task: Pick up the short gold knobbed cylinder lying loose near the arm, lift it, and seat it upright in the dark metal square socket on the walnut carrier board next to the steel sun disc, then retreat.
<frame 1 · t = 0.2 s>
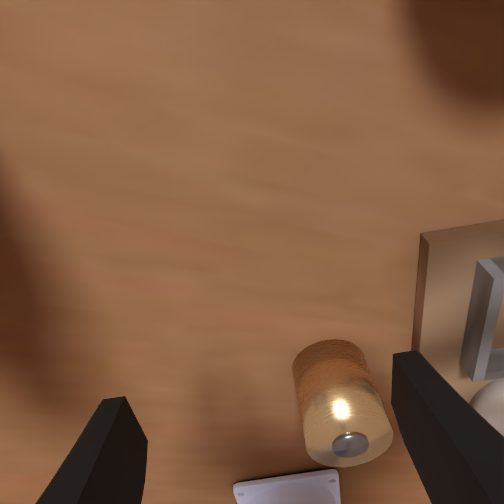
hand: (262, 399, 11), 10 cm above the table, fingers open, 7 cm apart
gold knobbed cylinder: (328, 365, 25), on the table
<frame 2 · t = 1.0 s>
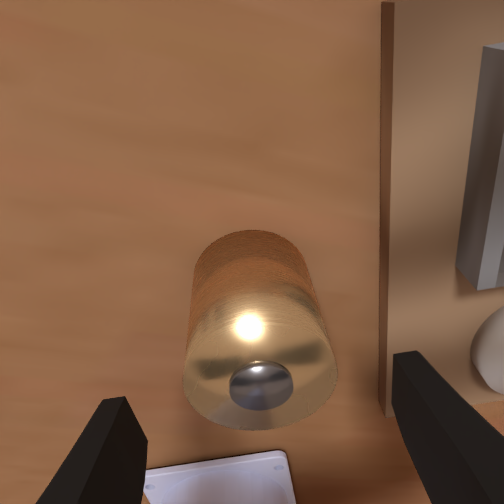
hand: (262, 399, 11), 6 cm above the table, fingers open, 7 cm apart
gold knobbed cylinder: (250, 279, 16), on the table
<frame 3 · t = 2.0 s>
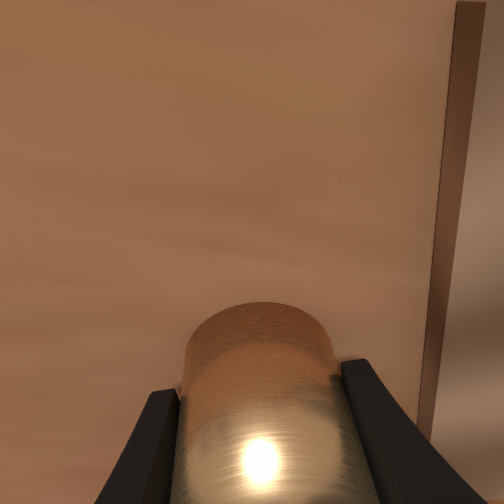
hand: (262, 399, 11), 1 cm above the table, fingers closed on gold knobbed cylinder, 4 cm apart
gold knobbed cylinder: (258, 359, 12), on the table, touching gripper
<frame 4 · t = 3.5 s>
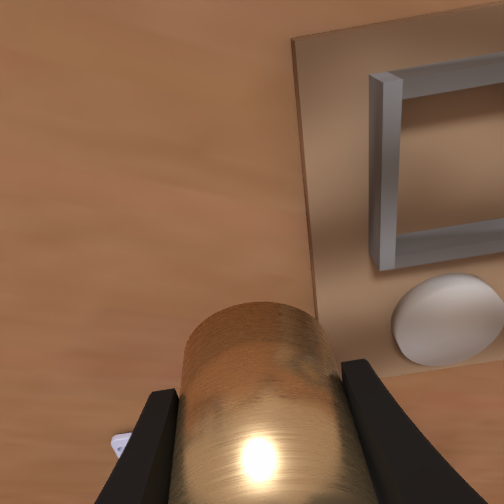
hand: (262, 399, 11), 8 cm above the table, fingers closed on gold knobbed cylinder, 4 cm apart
gold knobbed cylinder: (257, 358, 12), point 7 cm above the table, touching gripper
carrier board: (441, 224, 18), on the table
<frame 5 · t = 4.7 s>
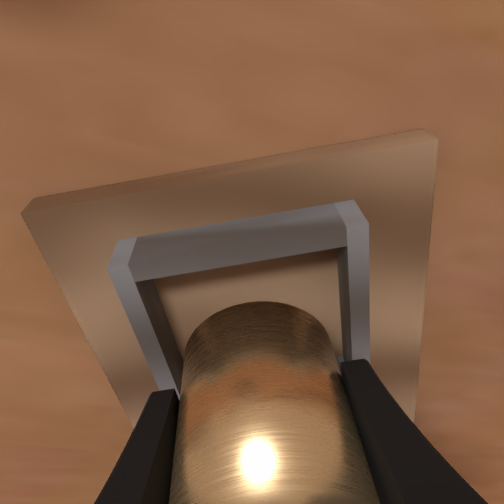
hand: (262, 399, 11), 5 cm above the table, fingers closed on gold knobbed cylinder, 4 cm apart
gold knobbed cylinder: (258, 358, 12), point 3 cm above the table, touching gripper
carrier board: (265, 357, 17), on the table
when the fingers open (3 cm above the table, at t = 5.4 s): gold knobbed cylinder stays where it is, resting on carrier board.
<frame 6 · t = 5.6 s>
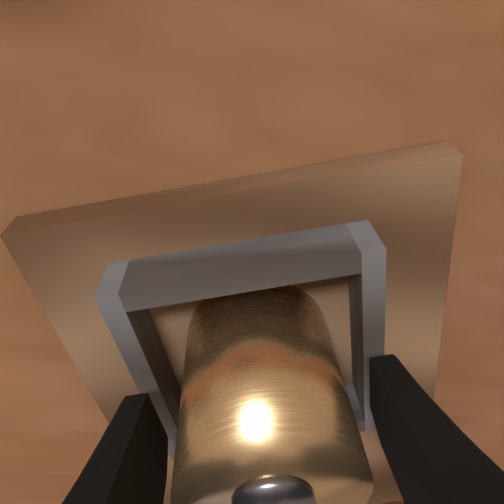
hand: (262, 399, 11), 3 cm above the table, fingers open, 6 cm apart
gold knobbed cylinder: (256, 334, 13), point 1 cm above the table, touching carrier board
carrier board: (268, 382, 16), on the table
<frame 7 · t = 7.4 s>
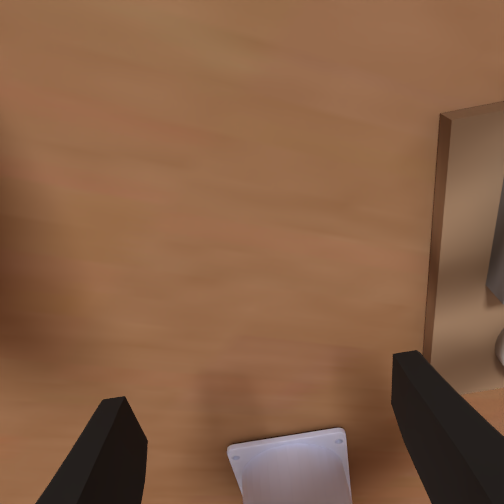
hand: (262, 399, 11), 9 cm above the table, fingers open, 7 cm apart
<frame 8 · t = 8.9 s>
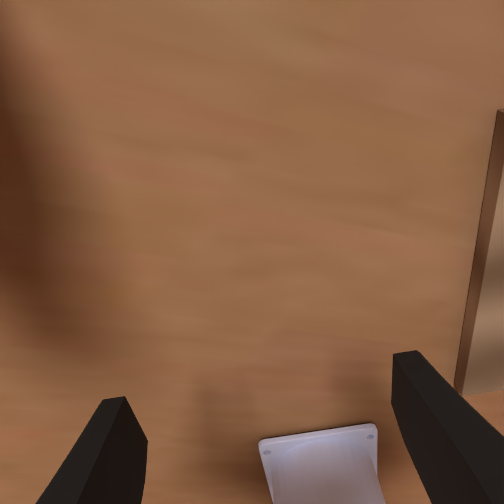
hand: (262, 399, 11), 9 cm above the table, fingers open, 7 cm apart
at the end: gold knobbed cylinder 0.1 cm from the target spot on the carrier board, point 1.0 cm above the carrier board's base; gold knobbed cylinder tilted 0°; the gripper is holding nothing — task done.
